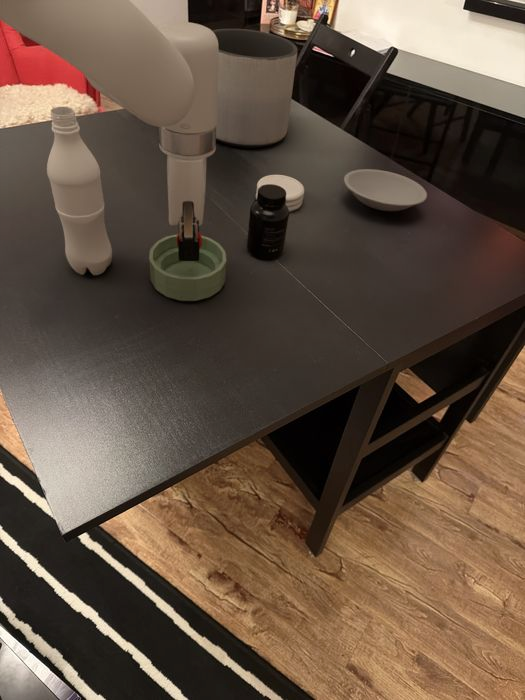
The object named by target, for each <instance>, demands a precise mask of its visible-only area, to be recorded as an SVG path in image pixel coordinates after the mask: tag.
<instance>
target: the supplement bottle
mask: <svg viewBox="0 0 525 700" xmlns="http://www.w3.org/2000/svg"><path fill="white" fill-rule="evenodd" d="M285 203H286V191H285V189H283V188H282V187H280V186H277V185H273V184H266V185H263V186H261V187H260V188H259V189H258V195H257V199H256V200H254V201H253V202H252V204H251V205H250V208H249V216H248V228H247V239H246V249H247V251H248V253H249V254H250V255H251V256H253V257H254V258H256V259H259V260H263V261H272V260H275V259H277V258H279V257H280V256H281V255H282V254H283V251H284V247H285V241H286V236H287V230H288V225H289V223H288V222H289V217H290V212H289V209H288V207H287V206H286V204H285Z"/></svg>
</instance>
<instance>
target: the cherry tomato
mask: <svg viewBox="0 0 525 700" xmlns="http://www.w3.org/2000/svg"><path fill="white" fill-rule="evenodd" d="M183 230H184V228H183ZM193 231H194V227H193ZM177 234H178V235H177V240H176V241H177V246H178V237H179V233H177ZM201 236H202V235H201V233H200V231H199V232H198V238H199V249H200V248H201V246H202V237H201Z"/></svg>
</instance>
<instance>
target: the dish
mask: <svg viewBox="0 0 525 700" xmlns="http://www.w3.org/2000/svg"><path fill="white" fill-rule="evenodd" d="M343 183H344V185H345V187H346V188H347V189H348V190H349V191H350V192H351V194H352V195H353V196H354V197H355V198H356V199H357V200H358V201H359V202H360V203H362V204H363V205H365V206H366V207H369V208H372V209H375V210H379V211H384V212H398V211H404V210H406V209H409V208H411V207H414V206H417V205H420V204H422V203H423V202H425V201H426V199H427V198H428V193H427V191H426V189H425V188H424V187H423V186H422V185H421V184H419V182H417V181H415V180H414V179H411V178H409V177H407V176H404V175H401V174H400V173H399V174H398V173H395V172H392V171H388V170H386V171H385V170H380V169H373V168H372V169H371V168H368V169H367V168H366V169H365V168H364V169H356V170H351V171H350V172H347V173H346V174H345V175H344V177H343Z"/></svg>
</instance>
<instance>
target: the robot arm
mask: <svg viewBox="0 0 525 700" xmlns="http://www.w3.org/2000/svg"><path fill="white" fill-rule="evenodd" d="M0 21H1V22H3V23H4V24H6V25H7V26H9V27H10V28H11V29H13V30H15V31H16V32H17V33H19V34H21V35H23V36H24V37H26V38H27V39H29V40H31V41H33V42H34V43H36V44H38V45H40V46H41V47H43V48H45V49H46V50H48V51H50V52H52V53H53V54H54V55H56V56H58V57H59V58H60V59H62V60H63V61H65V62H67V63H68V64H69V65H71V66H72V67H73V68H75V69H76V70H78V71H79V72H81V74H83V75H84V77H85V78H86V80H87V81H88V83H89V84H90V85H91V86H92V87H93V89H95V90H96V91H97V92H98V93H100V94H101V95H103V96H104V97H106V98H107V99H108V100H110V101H111V102H113V103H115V104H116V105H118V106H120V107H121V108H123V109H124V110H126V111H127V112H129V113H130V114H132V115H133V116H135V117H136V118H137V119H139V120H140V121H142V122H143V123H145V124H147V125H150V126H153V127H157V130H158V131H157V132H158V146H159V149H160V151H161V152H162V153H163V154H165V156H166V178H167V179H166V180H167V206H168V208H167V209H168V224H169V225H170V226H172V227H174V226H178V234H179V237H178V255H179V260H180V261H199V238H198V232H199V233H200V227H201V226H202V225H203V223H204V215H205V214H204V213H205V203H206V189H207V159H208V158H209V157H211V156H212V155H214V154H215V152H216V150H217V140H216V120H217V88H218V53H219V51H218V40H217V37H216V35H215V34H214V32H213V30H212V29H211V28H209V27H207V26H205V25H202V24H199V23H194V22H189V21H172V22H167V23H163V24H161V25H157V26H156V25H155V24H154V23H153V22H152V21H151V20H150V19H149V18H148V17H147V16H146V15H145V13H144V12H142V11H141V9H139V8H138V7H137V6H136V5H135V4H134V3H133V2H132V1H131V0H0ZM193 227H194V231H193ZM183 228H184V230H183Z"/></svg>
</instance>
